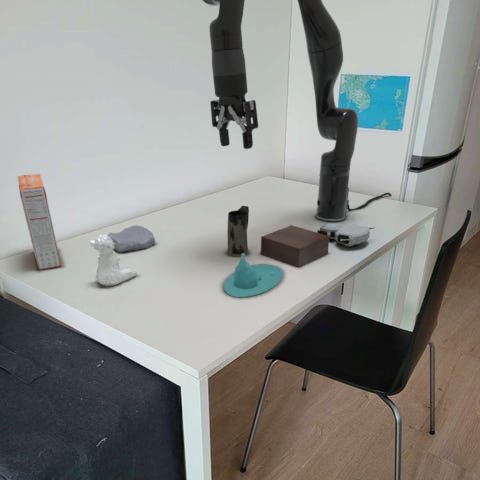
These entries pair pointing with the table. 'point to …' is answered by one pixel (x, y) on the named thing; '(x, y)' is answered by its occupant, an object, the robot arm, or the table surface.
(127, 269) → the sitting furry creature
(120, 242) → the stone block
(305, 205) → the table surface
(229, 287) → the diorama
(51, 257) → the cracker box
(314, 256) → the walnut block
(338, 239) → the robot toy
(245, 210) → the mug
